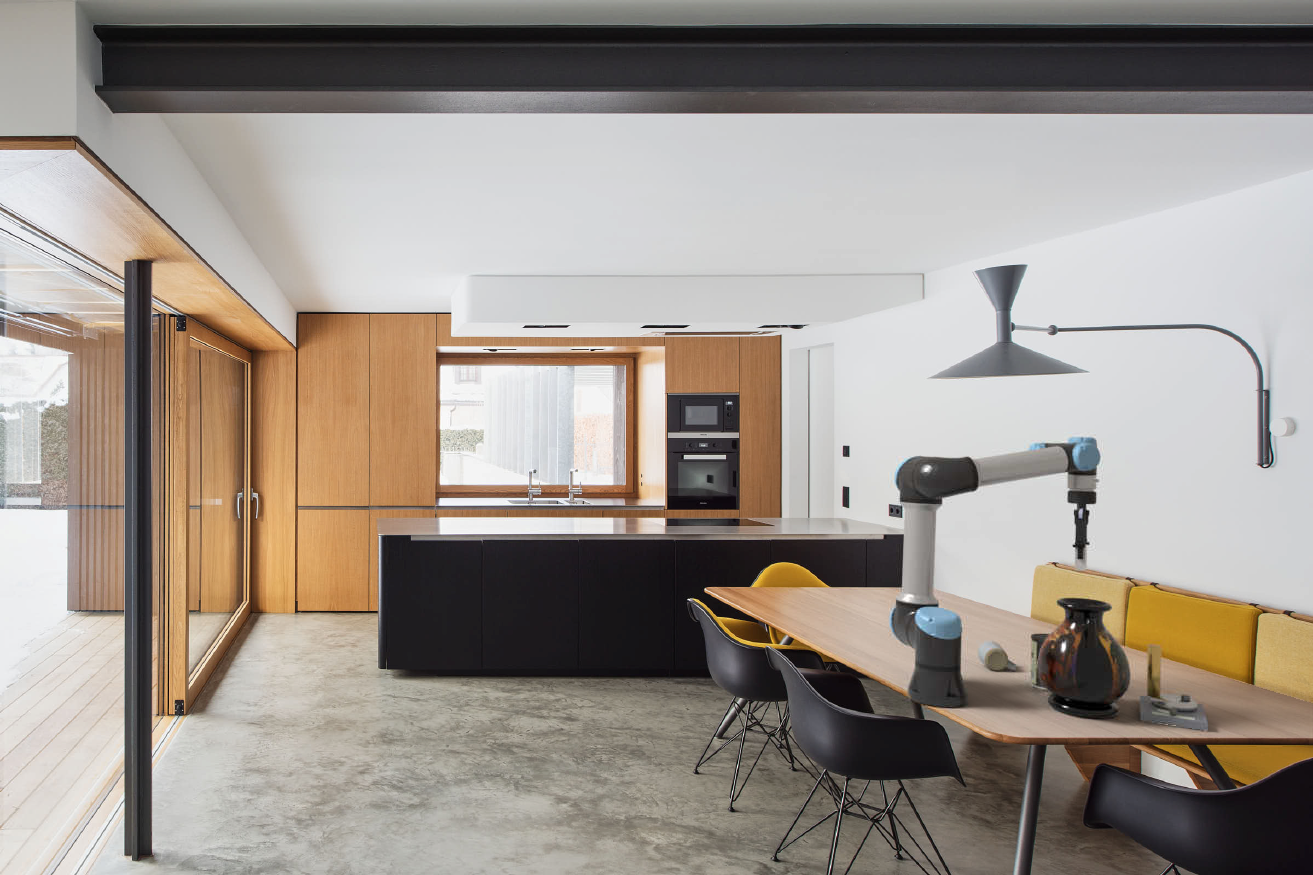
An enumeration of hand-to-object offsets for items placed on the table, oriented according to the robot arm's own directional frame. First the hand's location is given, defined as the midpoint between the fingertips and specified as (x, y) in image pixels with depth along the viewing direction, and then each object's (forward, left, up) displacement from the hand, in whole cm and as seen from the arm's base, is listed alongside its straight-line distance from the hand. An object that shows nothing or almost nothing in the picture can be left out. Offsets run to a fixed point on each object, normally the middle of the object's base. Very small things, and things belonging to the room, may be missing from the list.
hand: (1080, 568), depth 240 cm
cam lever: (-19, -22, -31) cm, 42 cm away
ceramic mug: (+4, +23, -33) cm, 41 cm away
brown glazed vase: (-28, -2, -33) cm, 44 cm away
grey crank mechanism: (-21, -22, -33) cm, 45 cm away
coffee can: (-9, +7, -33) cm, 35 cm away
